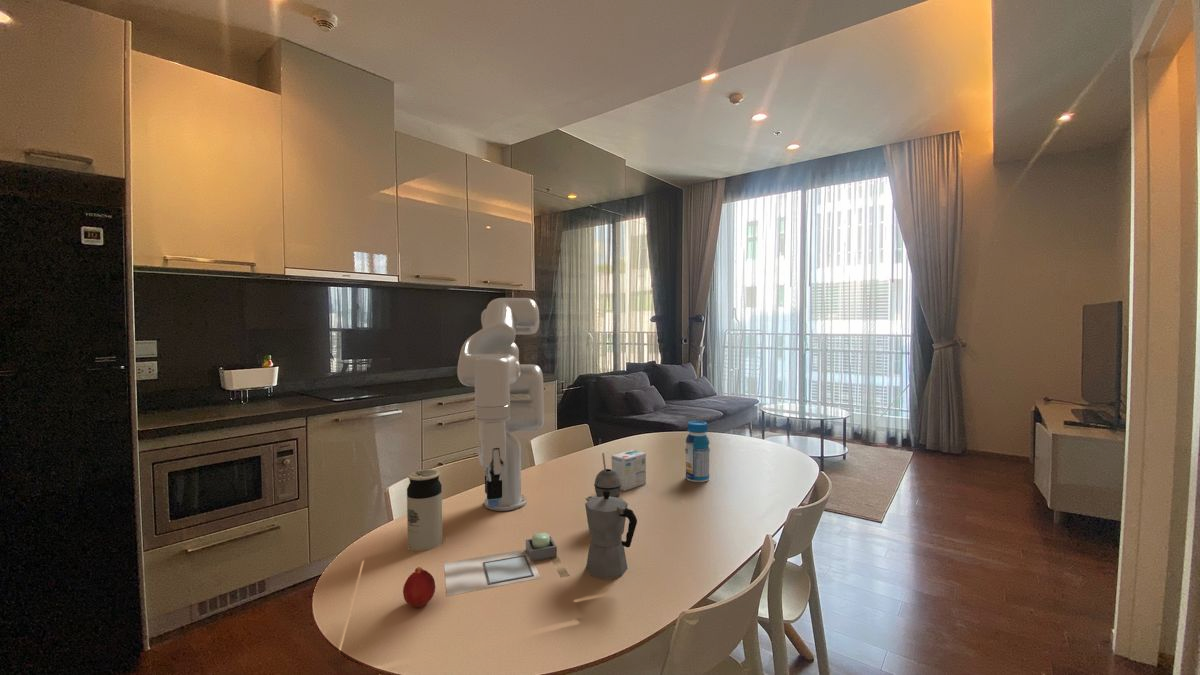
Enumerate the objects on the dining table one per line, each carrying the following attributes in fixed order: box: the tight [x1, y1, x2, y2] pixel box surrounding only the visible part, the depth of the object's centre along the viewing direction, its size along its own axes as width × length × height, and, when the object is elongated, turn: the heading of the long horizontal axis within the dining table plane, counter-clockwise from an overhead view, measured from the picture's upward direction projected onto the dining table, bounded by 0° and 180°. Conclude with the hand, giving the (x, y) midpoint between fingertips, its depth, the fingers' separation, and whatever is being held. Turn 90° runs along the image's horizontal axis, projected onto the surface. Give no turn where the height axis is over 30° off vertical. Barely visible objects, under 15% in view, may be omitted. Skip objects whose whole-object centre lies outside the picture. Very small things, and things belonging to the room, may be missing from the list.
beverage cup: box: [593, 452, 621, 498], centre depth 127 cm, size 7×7×20 cm
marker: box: [485, 464, 500, 507], centre depth 105 cm, size 3×3×10 cm
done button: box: [531, 532, 551, 549], centre depth 111 cm, size 4×4×2 cm
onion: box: [402, 566, 436, 609], centre depth 91 cm, size 6×6×8 cm
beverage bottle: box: [684, 420, 711, 483], centre depth 166 cm, size 8×8×20 cm
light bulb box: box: [611, 449, 647, 492], centre depth 161 cm, size 11×7×11 cm, turn 133°
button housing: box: [525, 535, 558, 563], centre depth 111 cm, size 6×6×3 cm
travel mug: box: [406, 468, 443, 552], centre depth 116 cm, size 8×8×18 cm
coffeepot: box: [584, 490, 638, 580], centre depth 103 cm, size 15×9×18 cm, turn 43°
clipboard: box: [443, 548, 570, 597], centre depth 104 cm, size 16×26×1 cm, turn 110°
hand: (493, 494), depth 105 cm, fingers closed on marker, 3 cm apart
